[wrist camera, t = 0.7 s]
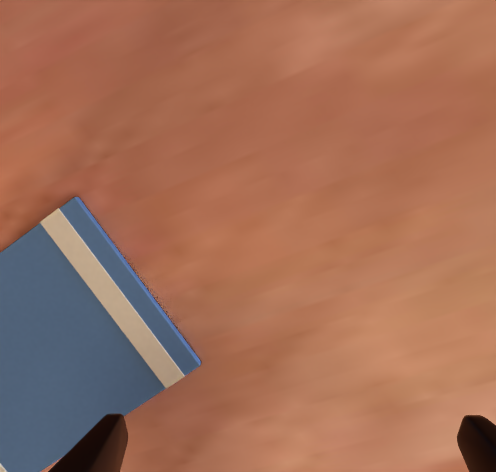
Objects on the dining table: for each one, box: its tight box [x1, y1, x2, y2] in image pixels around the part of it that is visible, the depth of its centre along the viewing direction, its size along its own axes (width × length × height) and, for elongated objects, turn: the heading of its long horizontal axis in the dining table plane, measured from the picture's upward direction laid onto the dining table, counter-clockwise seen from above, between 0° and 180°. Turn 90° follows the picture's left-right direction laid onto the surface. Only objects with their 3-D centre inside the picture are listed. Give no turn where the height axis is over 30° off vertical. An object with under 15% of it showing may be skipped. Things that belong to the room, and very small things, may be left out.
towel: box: [0, 197, 201, 472], centre depth 24 cm, size 22×16×1 cm
